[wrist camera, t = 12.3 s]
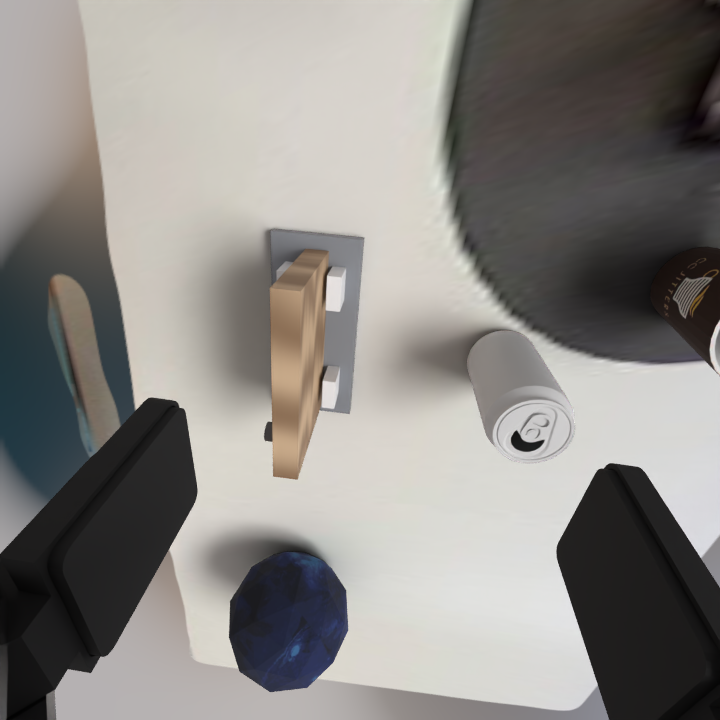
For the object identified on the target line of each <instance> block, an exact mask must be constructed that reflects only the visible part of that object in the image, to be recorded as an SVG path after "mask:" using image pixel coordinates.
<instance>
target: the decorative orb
mask: <svg viewBox="0 0 720 720" xmlns="http://www.w3.org/2000/svg"><path fill="white" fill-rule="evenodd" d="M347 632H348V618H347V599H346V590H345V588H344V586H343V585H342V583H341V582H340V580H339V579H338V577H337V576H336V574H335V573H334V571H333V570H332V568H330V567H329V566H328V565H327V564H326V563H325V562H324V561H322V560H320V559H318V558H316V557H314V556H311V555H309V554H307V553H301V552H284V553H278V554H274V555H272V556H270V557H269V558H267V559H265V560H263V561H262V562H260V563H258V564H256V565H255V566H253V567H252V568H251V569H250V571H249V573H248V574H247V576H246V577H245V579H244V580H243V582H242V583H241V585H240V587H239V588H238V590H237V591H236V593H235V594H234V596H233V598H232V599H231V601H230V626H229V638H230V642H231V645H232V648H233V652H234V655H235V658H236V662H237V665H238V668H239V671H240V672H241V673H243V674H244V675H246V676H247V677H249V678H250V679H252V680H253V681H255V682H256V683H257V684H259V685H261V686H262V687H263V688H265V689H266V690H268V691H269V692H274V691H283V690H292V689H300V688H307V687H308V686H309V685H310V684H311V683H312V682H313V681H315V680H316V679H317V678H318V677H319V676H320V675H321V674H322V673H323V672H324V671H325V670H326V669H327V668H328V667H329V666H330V665H331V664H332V663H333V662H334V660H335V657H336V655H337V653H338V651H339V649H340V647H341V644H342V642H343V640H344V638H345V636H346V634H347Z"/></svg>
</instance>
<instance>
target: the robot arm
mask: <svg viewBox="0 0 720 720" xmlns="http://www.w3.org/2000/svg"><path fill="white" fill-rule="evenodd" d="M196 497H197V482H196V476H195V470H194V463H193V457H192V451H191V444H190V438H189V431H188V425H187V419H186V413H185V410H184V409H182V408H179V405H178V403H177V402H176V401H172V400H165V399H158V398H148V399H147V400H146V401H144V402H143V404H142V405H141V406H140V407H139V408H138V409H137V410H136V411H135V412H134V413H133V414H132V415H131V416H130V417H129V419H128V420H127V421H126V422H125V423H124V424H123V425H122V426H121V427H120V428H119V429H118V430H117V431H116V432H115V434H114V435H113V436H112V437H111V438H110V439H109V440H108V441H107V442H106V443H105V444H104V445H103V446H102V447H101V449H100V450H99V451H98V452H97V453H95V454H94V455H93V456H92V457H91V458H90V459H89V460H88V461H87V462H86V463H85V464H84V465H83V466H82V467H81V468H80V469H79V471H78V472H77V473H76V474H75V475H74V476H73V477H72V478H71V479H70V480H69V481H68V482H67V483H66V484H65V485H64V486H63V488H62V489H61V490H60V491H59V492H58V493H57V494H56V495H55V496H54V497H53V498H52V499H51V500H50V501H49V503H48V504H47V505H46V506H45V507H44V508H43V509H42V510H41V511H40V512H39V513H38V514H37V515H36V516H35V518H34V519H33V520H32V521H31V522H30V523H29V524H28V525H27V526H26V527H25V528H24V529H23V530H22V531H21V532H20V534H18V536H17V537H16V538H15V539H14V540H13V541H12V542H11V543H10V544H9V545H8V546H7V547H6V548H5V549H4V551H3V552H2V553H1V554H0V720H56V709H55V691H54V690H55V689H56V687H57V686H58V684H59V682H60V681H61V679H62V677H63V676H64V674H65V673H66V671H67V669H71V670H77V671H82V672H89V673H91V672H92V670H93V668H94V667H95V665H96V663H97V661H98V660H99V658H100V656H102V657H104V656H106V655H108V654H109V653H110V652H111V650H112V649H113V648H114V646H115V644H116V643H117V641H118V639H119V637H120V636H121V634H122V632H123V630H124V628H125V627H126V625H127V623H128V621H129V619H130V618H131V616H132V614H133V612H134V611H135V609H136V607H137V605H138V603H139V602H140V600H141V598H142V596H143V594H144V593H145V591H146V589H147V587H148V585H149V584H150V582H151V580H152V578H153V577H154V575H155V573H156V571H157V570H158V568H159V566H160V564H161V562H162V561H163V559H164V557H165V555H166V553H167V552H168V550H169V548H170V546H171V545H172V543H173V541H174V539H175V537H176V536H177V534H178V532H179V530H180V528H181V527H182V525H183V523H184V521H185V520H186V518H187V516H188V514H189V512H190V511H191V509H192V507H193V505H194V503H195V500H196ZM557 560H558V564H559V567H560V570H561V573H562V576H563V579H564V582H565V585H566V588H567V591H568V594H569V597H570V601H571V604H572V607H573V610H574V613H575V616H576V619H577V622H578V625H579V628H580V631H581V634H582V637H583V640H584V644H585V647H586V650H587V653H588V656H589V659H590V662H591V665H592V668H593V671H594V674H595V677H596V680H597V683H598V687H599V690H600V693H601V696H602V699H603V702H604V705H605V708H606V711H607V714H608V717H609V720H720V588H719V586H718V584H717V583H716V581H715V580H714V578H713V577H712V575H711V573H710V572H709V570H708V569H707V567H706V566H705V564H704V563H703V561H702V560H701V558H700V556H699V555H698V553H697V552H696V550H695V549H694V547H693V546H692V544H691V543H690V541H689V540H688V538H687V536H686V535H685V533H684V532H683V530H682V529H681V527H680V526H679V524H678V523H677V521H676V520H675V518H674V516H673V515H672V513H671V512H670V510H669V509H668V507H667V506H666V504H665V503H664V501H663V500H662V498H661V496H660V495H659V493H658V492H657V490H656V489H655V487H654V486H653V484H652V483H651V481H650V480H649V478H648V476H647V475H646V473H645V472H644V471H643V470H642V469H641V468H639V467H635V466H628V465H621V464H614V463H610V464H608V465H606V467H605V468H604V469H599V470H598V471H597V472H596V474H595V475H594V477H593V479H592V481H591V483H590V485H589V487H588V488H587V490H586V492H585V494H584V496H583V498H582V500H581V502H580V503H579V505H578V507H577V509H576V511H575V513H574V515H573V516H572V518H571V520H570V522H569V524H568V526H567V528H566V529H565V531H564V533H563V535H562V537H561V539H560V541H559V543H558V545H557Z"/></svg>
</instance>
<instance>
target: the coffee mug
mask: <svg viewBox="0 0 720 720" xmlns="http://www.w3.org/2000/svg"><path fill="white" fill-rule="evenodd" d="M650 297H651V302H652V304H653V307H654V308H655V309H656V311H657V312H658V313H659V314H660V315H661V316H662V317H663V318H664V319H665V320H666V321H667V322H668V323H669V324H670V325H671V326H672V327H673V328H674V329H675V330H676V331H677V332H678V333H679V334H680V335H681V336H682V338H683V339H684V340H685V341H686V342H687V343H688V344H689V345H690V346H691V347H692V348H693V349H694V350H695V351H696V352H697V353H698V354H699V355H700V356H701V357H702V358H703V359H704V360H705V361H706V362H707V363H708V364H709V365H710V366H711V367H712V368H713V369H714V370H715V371H716V372H717V373H718V375H719V376H720V249H717V248H711V247H699V248H694V249H690V250H687V251H684V252H682V253H680V254H678V255H677V256H675V257H673V258H672V259H671V260H669V261H668V262H667V263H666V264H665V265H664V266H663V267H662V268H661V269H660V271H659V272H658V273H657V275H656V276H655V278H654V280H653V283H652V286H651V293H650Z"/></svg>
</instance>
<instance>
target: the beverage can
mask: <svg viewBox="0 0 720 720" xmlns="http://www.w3.org/2000/svg"><path fill="white" fill-rule="evenodd" d="M467 368H468V372H469V376H470V379H471V383H472V386H473V390H474V394H475V397H476V401H477V404H478V408H479V411H480V415H481V419H482V422H483V426H484V429H485V433H486V435H487V437H488V439H489V440H490V442H491V443H492V444H493V445H494V446H495V447H496V448H497V449H498V451H499V452H500V453H501V454H502V455H503V456H505V457H506V458H508V459H510V460H513V461H516V462H520V463H539V462H543V461H547V460H549V459H552V458H554V457H556V456H557V455H559V454H560V453H562V452H563V451H564V450H565V449H566V448H567V447H568V446H569V444H570V443H571V441H572V439H573V437H574V433H575V423H574V410H573V407H572V405H571V403H570V401H569V400H568V398H567V397H566V395H565V394H564V392H563V391H562V389H561V387H560V386H559V384H558V383H557V381H556V380H555V378H554V376H553V375H552V373H551V372H550V370H549V369H548V367H547V365H546V364H545V362H544V361H543V359H542V358H541V356H540V355H539V353H538V351H537V350H536V348H535V347H534V345H533V344H532V342H531V341H530V340H529V339H528V338H527V337H525V336H524V335H522V334H520V333H518V332H514V331H508V330H502V331H496V332H492V333H490V334H487V335H485V336H484V337H482V338H481V339H479V340H478V341H477V342H476V343H475V344H474V345H473V347H472V348H471V350H470V352H469V355H468V359H467Z"/></svg>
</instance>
